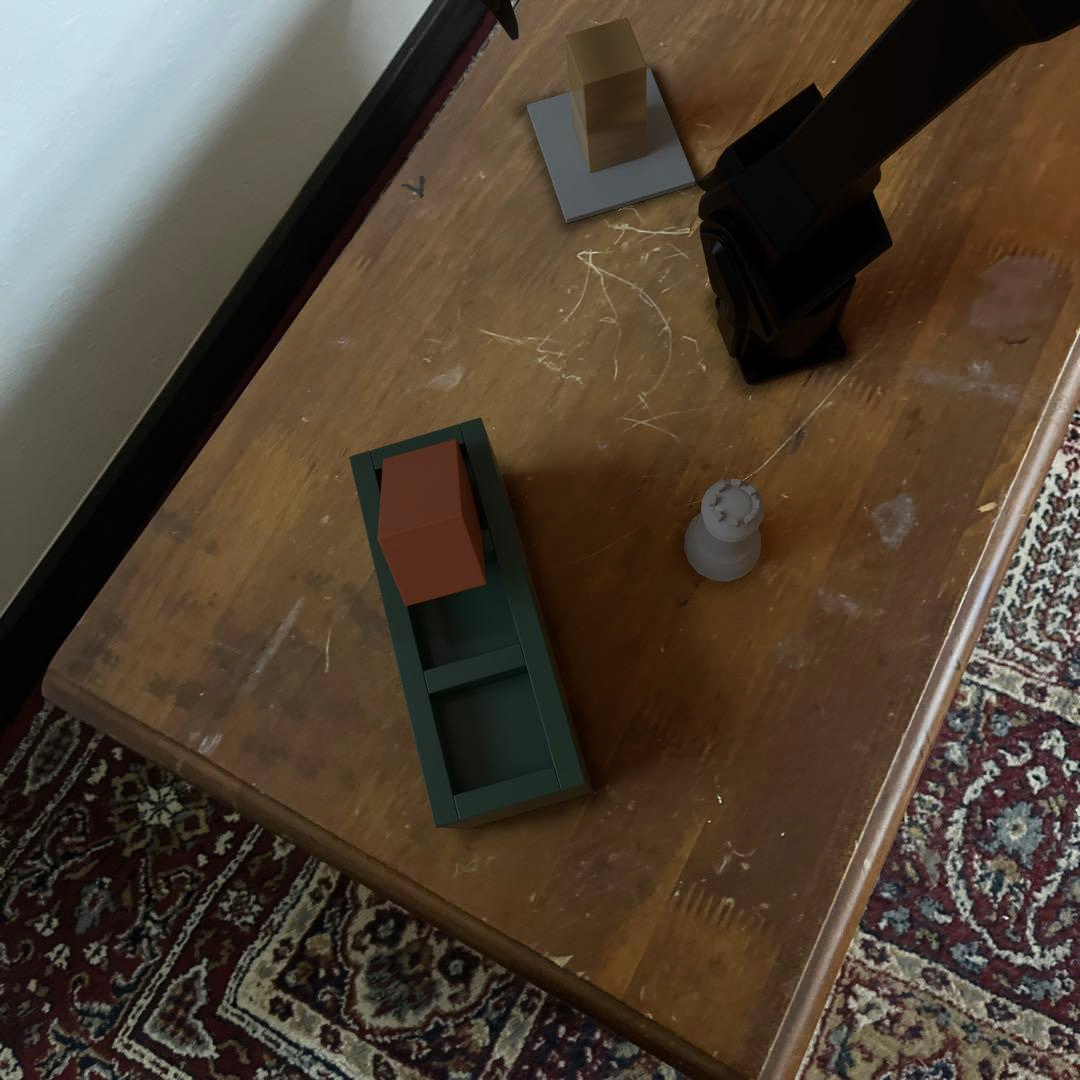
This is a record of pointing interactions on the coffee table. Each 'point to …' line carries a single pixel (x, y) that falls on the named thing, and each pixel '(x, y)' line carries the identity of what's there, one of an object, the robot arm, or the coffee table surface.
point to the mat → (617, 183)
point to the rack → (478, 661)
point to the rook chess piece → (726, 531)
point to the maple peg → (607, 94)
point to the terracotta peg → (430, 523)
